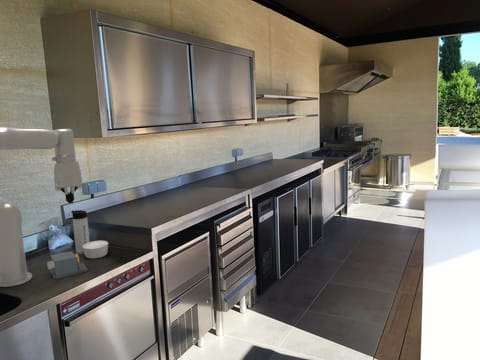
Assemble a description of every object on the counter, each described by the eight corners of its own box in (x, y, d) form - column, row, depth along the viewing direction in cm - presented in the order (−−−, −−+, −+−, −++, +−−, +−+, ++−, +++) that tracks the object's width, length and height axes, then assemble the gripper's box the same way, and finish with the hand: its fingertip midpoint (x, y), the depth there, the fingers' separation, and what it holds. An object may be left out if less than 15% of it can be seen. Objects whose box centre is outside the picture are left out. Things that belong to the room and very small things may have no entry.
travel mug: (76, 250, 195) (72, 209, 192) (91, 249, 197) (87, 208, 193) (74, 255, 189) (69, 212, 186) (89, 253, 190) (85, 211, 187)
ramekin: (92, 261, 181) (91, 249, 180) (78, 256, 187) (77, 245, 187) (114, 254, 190) (113, 242, 189) (99, 249, 196) (98, 239, 195)
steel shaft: (49, 273, 163) (48, 261, 162) (47, 269, 167) (46, 257, 166) (80, 266, 169) (78, 255, 168) (77, 263, 173) (76, 251, 172)
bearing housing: (54, 279, 162) (52, 262, 161) (50, 272, 169) (48, 255, 168) (88, 271, 169) (86, 254, 168) (83, 265, 176) (81, 249, 175)
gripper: (47, 161, 163) (52, 207, 166) (86, 158, 171) (91, 201, 174) (44, 160, 169) (49, 204, 172) (82, 156, 177) (86, 198, 180)
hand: (70, 202), depth 173 cm, fingers closed
